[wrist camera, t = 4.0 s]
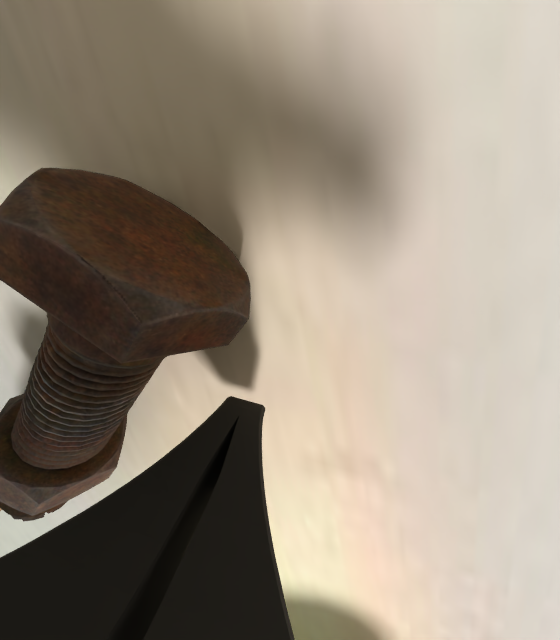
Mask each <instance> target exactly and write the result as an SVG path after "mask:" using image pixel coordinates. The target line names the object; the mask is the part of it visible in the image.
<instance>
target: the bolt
mask: <svg viewBox="0 0 560 640" xmlns="http://www.w3.org/2000/svg"><path fill="white" fill-rule="evenodd" d="M0 280H1V281H3V282H4V283H6V284H7V285H9V286H10V287H11V288H13V289H14V290H16V291H17V292H19V293H20V294H21V295H23V296H24V297H26V298H27V299H29V300H30V301H32V302H33V303H34V304H36V305H37V306H39V307H40V308H42V309H43V310H45V311H46V312H47V317H48V326H47V328H46V333H45V335H44V340H43V342H42V343H41V347H40V349H39V350H38V355H37V357H36V359H35V363H34V365H33V368H32V371H31V374H30V377H29V380H28V385H27V387H26V390H25V393H24V394H22V395H19V396H16V397H14V398H11V399H9V400H8V402H7V403H6V405H5V406H4V408H3V409H2V411H1V412H0V508H1V509H2V510H4V511H5V512H6V513H8V514H10V515H11V516H12V517H13V518H14V519H22V520H23V521H30V520H36V519H39V518H42V517H44V515H45V514H44V513H45V512H47V513H48V514H49V513H50V512H54V511H56V510H57V509H59V508H61V507H62V506H63V505H64V504H65V503H66V502H67V501H68V500H70V499H72V498H74V497H76V496H78V495H80V494H81V493H83V492H85V491H87V490H89V489H91V488H92V487H94V486H96V485H98V484H99V483H101V482H103V481H104V480H106V479H108V478H109V476H110V475H111V474H112V472H113V471H114V470H115V469H116V467H117V464H118V460H119V457H120V453H121V449H122V445H123V441H124V436H125V430H126V424H127V415H126V414H127V412H128V411H129V409H130V408H131V407H132V405H133V404H134V402H135V400H136V399H137V397H138V396H139V394H140V393H141V392H142V390H143V389H144V387H145V385H146V384H147V383H148V381H149V380H150V378H151V377H152V375H153V374H154V372H155V370H156V369H157V368H158V366H159V365H160V363H161V362H162V360H163V359H164V358H165V357H167V356H169V355H175V354H180V353H186V352H191V351H197V350H203V349H208V348H214V347H220V346H225V345H228V344H229V343H230V342H231V341H232V339H233V338H234V337H235V336H236V334H237V333H238V332H239V330H240V329H241V328H242V327H243V325H244V324H245V323H246V322H247V320H248V319H249V310H250V299H251V298H250V283H249V278H248V275H247V273H246V271H245V270H244V268H243V267H242V266H241V264H240V263H239V261H238V260H237V258H236V257H235V255H234V254H233V253H232V252H231V251H230V249H229V248H228V247H227V246H226V245H225V244H224V243H223V241H221V240H220V239H219V238H218V237H216V236H215V235H214V234H213V233H211V232H210V231H209V230H208V229H207V228H206V227H204V226H203V225H202V224H201V223H200V222H199V221H197V220H196V219H195V218H193V217H192V216H190V215H189V214H187V213H185V212H184V211H182V210H181V209H179V208H178V207H176V206H174V205H173V204H171V203H170V202H168V201H166V200H164V199H162V198H160V197H158V196H156V195H155V194H153V193H151V192H149V191H147V190H145V189H143V188H141V187H140V186H137V185H135V184H133V183H131V182H129V181H127V180H124V179H121V178H117V177H113V176H109V175H104V174H98V173H93V172H88V171H83V170H75V169H59V168H41V169H39V170H38V171H36V172H34V173H33V174H32V175H30V176H29V177H28V178H26V179H25V180H24V181H23V182H22V183H21V184H20V185H19V186H17V187H16V188H15V189H14V190H13V191H12V192H11V193H10V194H9V196H8V197H7V198H6V199H5V201H4V202H3V203H2V204H1V206H0Z"/></svg>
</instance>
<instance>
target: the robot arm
mask: <svg viewBox="0 0 560 640" xmlns="http://www.w3.org/2000/svg"><path fill="white" fill-rule="evenodd" d="M264 412H265V407H264V406H263V405H260V404H257V403H253V402H250V401H246V400H242V399H239V398H235V397H232V396H230V397H228V398H227V399H226V400H225V401H224V402H223V403H222V405H221V406H220V407H219V408H218V409H217V410H216V411H215V412H214V413H213V414H212V415H211V416H210V417H209V418H208V419H207V420H206V421H205V422H204V423H202V424H201V425H200V426H199V427H198V428H197V429H196V430H195V431H194V432H193V433H191V434H190V435H189V436H188V437H187V438H186V439H185V440H183V441H182V442H181V443H180V444H179V445H177V446H176V447H175V448H174V449H172V450H171V451H170V452H169V453H167V454H166V455H165V456H164V457H163V458H161V459H160V460H159V461H157V462H156V463H155V464H153V465H152V466H151V467H149V468H148V469H147V470H145V471H144V472H142V473H141V474H140V475H138V476H137V477H135V478H134V479H133V480H131V481H130V482H128V483H127V484H125V485H124V486H122V487H121V488H119V489H118V490H116V491H115V492H113V493H112V494H110V495H109V496H107V497H105V498H104V499H102V500H101V501H99V502H98V503H96V504H94V505H93V506H91V507H90V508H88V509H86V510H85V511H83V512H81V513H80V514H78V515H76V516H74V517H73V518H71V519H69V520H68V521H66V522H64V523H62V524H61V525H59V526H57V527H55V528H54V529H52V530H50V531H48V532H47V533H45V534H43V535H42V536H40V537H38V538H36V539H35V540H33V541H31V542H29V543H27V544H25V545H24V546H22V547H20V548H18V549H16V550H14V551H12V552H10V553H8V554H6V555H5V556H3V557H1V558H0V640H294V636H293V632H292V628H291V624H290V620H289V616H288V612H287V608H286V604H285V599H284V595H283V590H282V586H281V581H280V577H279V572H278V568H277V563H276V558H275V554H274V548H273V543H272V537H271V532H270V526H269V519H268V513H267V506H266V498H265V490H264V479H263V467H262V423H263V416H264Z"/></svg>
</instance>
